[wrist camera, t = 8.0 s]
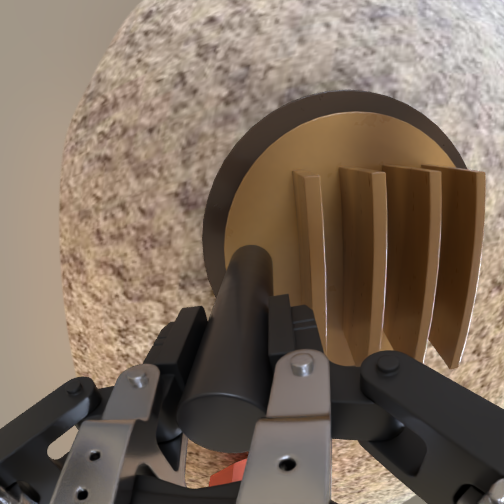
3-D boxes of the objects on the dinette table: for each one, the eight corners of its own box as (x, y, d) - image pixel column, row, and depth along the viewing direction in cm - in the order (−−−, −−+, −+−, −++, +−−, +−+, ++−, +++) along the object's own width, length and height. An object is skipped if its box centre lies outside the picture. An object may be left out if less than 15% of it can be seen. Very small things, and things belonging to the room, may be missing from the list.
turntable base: (150, 205, 20) (142, 209, 18) (386, 48, 15) (394, 41, 14) (304, 394, 24) (305, 406, 22) (492, 271, 20) (502, 278, 18)
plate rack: (463, 118, 15) (620, 115, 3) (450, 338, 19) (532, 452, 8) (209, 125, 16) (84, 71, 4) (244, 367, 21) (222, 530, 9)
